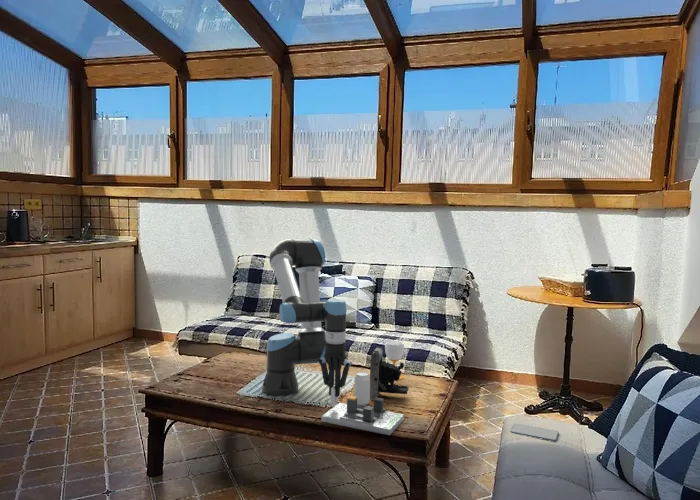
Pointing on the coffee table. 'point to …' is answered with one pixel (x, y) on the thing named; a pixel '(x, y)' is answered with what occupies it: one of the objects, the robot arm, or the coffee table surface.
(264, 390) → the robot arm
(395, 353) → the cup
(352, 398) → the breaker
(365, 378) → the beverage can
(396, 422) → the breaker panel
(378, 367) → the vintage camera
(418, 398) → the coffee table surface
